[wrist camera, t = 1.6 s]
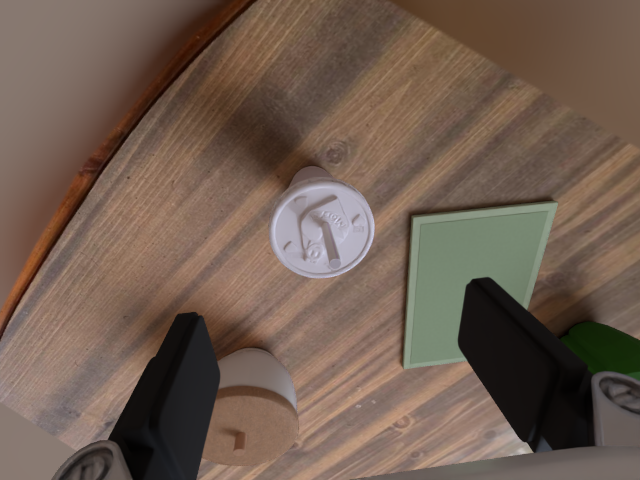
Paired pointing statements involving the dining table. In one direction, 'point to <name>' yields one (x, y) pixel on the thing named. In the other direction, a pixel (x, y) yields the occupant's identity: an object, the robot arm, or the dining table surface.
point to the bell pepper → (605, 348)
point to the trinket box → (252, 410)
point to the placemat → (467, 270)
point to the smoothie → (320, 225)
